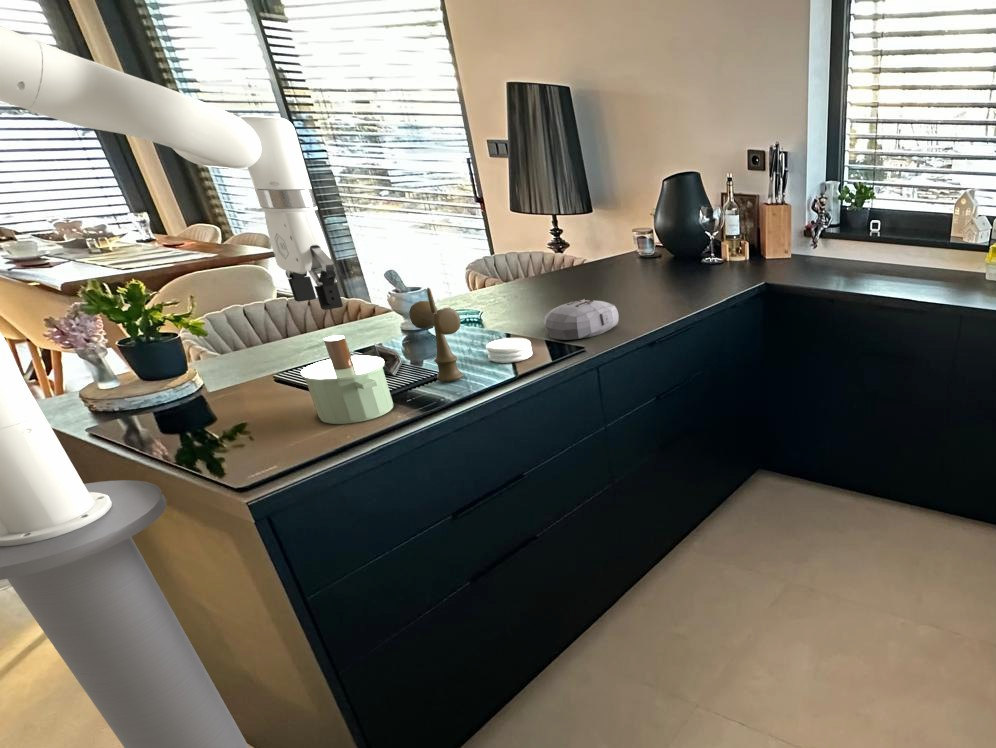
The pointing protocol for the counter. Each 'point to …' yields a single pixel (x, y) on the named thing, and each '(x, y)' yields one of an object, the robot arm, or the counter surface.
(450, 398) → the counter surface
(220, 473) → the counter surface
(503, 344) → the coaster
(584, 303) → the grey rounded bag
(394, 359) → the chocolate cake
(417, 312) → the kendama
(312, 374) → the lid
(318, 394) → the pot
